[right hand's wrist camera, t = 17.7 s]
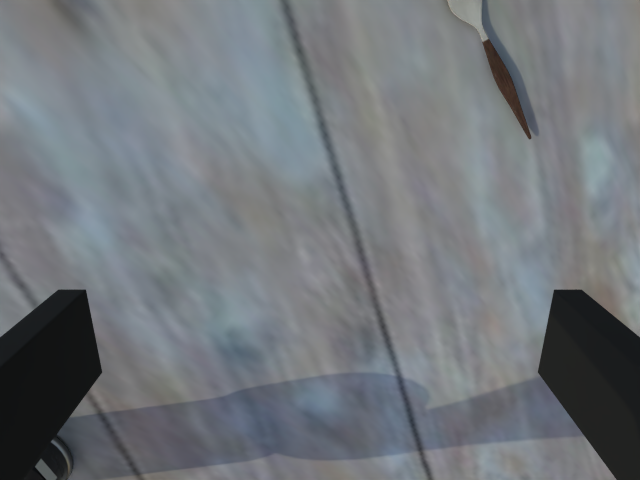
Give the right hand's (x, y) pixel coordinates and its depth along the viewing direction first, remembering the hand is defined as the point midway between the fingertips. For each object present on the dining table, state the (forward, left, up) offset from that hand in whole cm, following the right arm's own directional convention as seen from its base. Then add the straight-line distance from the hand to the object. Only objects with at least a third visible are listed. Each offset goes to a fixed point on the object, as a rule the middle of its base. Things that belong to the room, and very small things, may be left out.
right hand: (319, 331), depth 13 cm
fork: (-16, +4, -29) cm, 33 cm away
